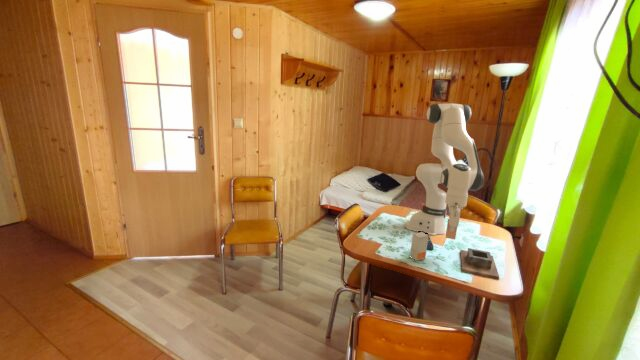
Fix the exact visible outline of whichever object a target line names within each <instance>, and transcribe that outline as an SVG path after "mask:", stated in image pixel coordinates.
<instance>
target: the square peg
mask: <svg viewBox="0 0 640 360" xmlns="http://www.w3.org/2000/svg"><path fill="white" fill-rule="evenodd" d="M445 230H446V232H445V238H447V239H450V240H456V238H457V237H456V236H457V230H458V227H455V228H454V232H452V231H450V225H449V218H448V219H447V225H446V229H445Z"/></svg>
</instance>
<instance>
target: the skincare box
mask: <svg viewBox="0 0 640 360" xmlns="http://www.w3.org/2000/svg"><path fill="white" fill-rule="evenodd" d="M429 237H430V235H429V234H425V233H423V232H416V233H412V239H411V247H410V251H409V252H410V253H409V257H410V256H411V257H412V258H413V260H414V259H415V260H416V261H421V260H425V259H426V257H427V250H428V242H429ZM411 257H410V258H411ZM412 258H411V259H412ZM420 259H421V260H420ZM415 260H414V261H415Z"/></svg>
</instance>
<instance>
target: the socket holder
mask: <svg viewBox="0 0 640 360" xmlns="http://www.w3.org/2000/svg"><path fill="white" fill-rule="evenodd" d="M459 253H460V262H461V263H460V264H461V272H462V271H463V272H464V273H467V272H468V273H467V274H471V273H472V275H476V276H481V277H486V278H491V279H496V280H500V274H499V271H498V268H497V265H496V263H495V259H494V256H493V255H491V252H490V251H487V250H481V249H480V250H479V249H475V248H471V247H469V248H467V250H463V249H460V252H459Z"/></svg>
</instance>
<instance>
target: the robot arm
mask: <svg viewBox="0 0 640 360" xmlns="http://www.w3.org/2000/svg"><path fill="white" fill-rule="evenodd" d="M471 116H472V109H471V107H470V106H469V105H468V104H464V103H463V104H460V103H452V102H451V103H432V104H430V105H429V107H428V108H427V110H426V120H427V121H428V122H429V123H430V124H434V127H433V131H432V137H431V149H430V151H431V154H432V155H433V156H434V157H436V158H437V159H439V160H440V161H441V163H433V162H432V163H431V162H430V163H420V164H419V165H418V166H417V168H416V171H415V176H416V178H417V180H418V181H419V182H421V184H422V185H423V187H424V189H425V192H426V193H425V194H426V196H425V198H426V199H425V203H421V205H420V207H421V209H420V210H419V211H417V212H414V213H413V214H412V215H411V217H410V220H407V221H406V222H405V228H406V229H407V230H409V231H413V232H416V233H419V232H418V231H425V232H427V233H428V234H427V235H428V236H436V235H442V234H446V230H447V229H446V225H445V224H446V217H447V211H448V219H449V225H450V231H452V232H454V228H455V227H457V228H458V227H459V224H460V218H461V210H463V209H464V208H465V207H467V203H468V198H469V191H472V192H477V191H479V190H480V189H482V188H483V187H484V185H485V175H484V172H483V170H482V167H481V163H480V159H479V153H478V150H477V145H476V143H475V140H474V138H472V137H471V136H470V135H469V134H468V132H467V126H466V124H467V123H469V121H470V119H471ZM454 149H456V150H459V151H461V152H463V153H464V154H465V156H466V161H467V164H468V165H467V164H464V163H458V162H457V159H456V158H455V154H454ZM440 184H441V185H442V186H444V188H446V189H447V191H444V190H443V189H441V188H440V187H439V185H440ZM447 207H448V210H447Z"/></svg>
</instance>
